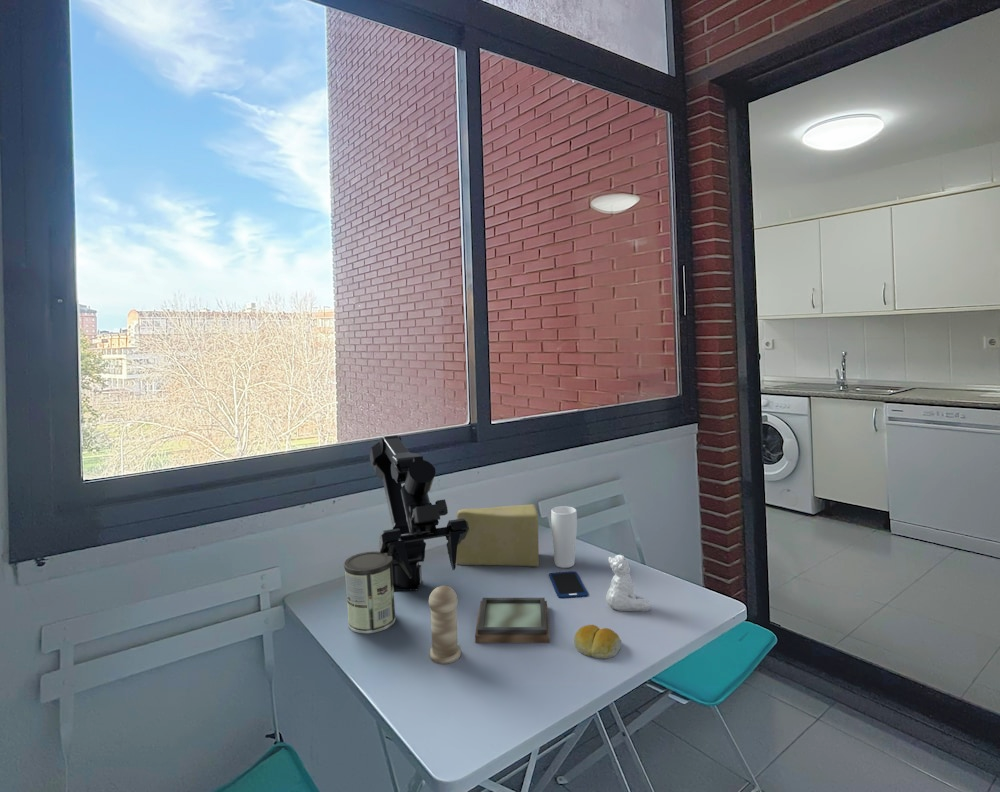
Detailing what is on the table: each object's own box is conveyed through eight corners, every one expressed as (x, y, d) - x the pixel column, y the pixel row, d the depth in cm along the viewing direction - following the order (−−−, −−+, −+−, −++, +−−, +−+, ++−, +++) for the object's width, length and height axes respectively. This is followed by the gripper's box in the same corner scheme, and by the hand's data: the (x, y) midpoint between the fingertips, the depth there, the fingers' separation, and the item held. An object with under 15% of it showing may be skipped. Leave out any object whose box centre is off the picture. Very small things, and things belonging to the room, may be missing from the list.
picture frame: (475, 642, 121) (474, 631, 120) (480, 607, 135) (480, 596, 135) (549, 642, 120) (549, 630, 119) (546, 607, 135) (546, 596, 134)
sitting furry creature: (652, 611, 132) (653, 559, 130) (620, 619, 128) (620, 566, 127) (627, 593, 140) (628, 544, 139) (596, 601, 137) (596, 551, 136)
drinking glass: (576, 570, 154) (576, 514, 152) (550, 569, 155) (549, 513, 153) (578, 560, 160) (577, 506, 158) (553, 558, 162) (552, 505, 160)
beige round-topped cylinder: (427, 663, 113) (424, 594, 112) (432, 646, 119) (429, 580, 118) (458, 663, 113) (456, 594, 111) (462, 646, 119) (459, 580, 117)
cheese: (455, 571, 155) (453, 516, 153) (456, 556, 165) (454, 504, 163) (539, 568, 156) (538, 513, 154) (535, 553, 166) (535, 501, 164)
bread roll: (584, 632, 124) (584, 614, 123) (625, 644, 119) (625, 625, 118) (566, 651, 117) (566, 632, 116) (609, 665, 112) (609, 645, 111)
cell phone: (558, 600, 139) (558, 597, 139) (547, 575, 152) (547, 572, 152) (589, 598, 139) (589, 595, 139) (576, 573, 153) (576, 570, 153)
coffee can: (364, 607, 137) (360, 549, 135) (404, 613, 133) (401, 553, 131) (337, 630, 127) (334, 567, 125) (380, 637, 124) (376, 572, 122)
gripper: (378, 493, 121) (392, 565, 113) (465, 482, 128) (484, 549, 120) (373, 519, 130) (386, 587, 121) (455, 507, 137) (472, 571, 128)
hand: (432, 573), depth 122 cm, fingers open, 9 cm apart
